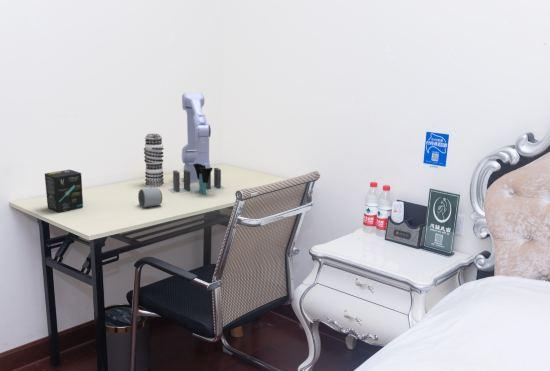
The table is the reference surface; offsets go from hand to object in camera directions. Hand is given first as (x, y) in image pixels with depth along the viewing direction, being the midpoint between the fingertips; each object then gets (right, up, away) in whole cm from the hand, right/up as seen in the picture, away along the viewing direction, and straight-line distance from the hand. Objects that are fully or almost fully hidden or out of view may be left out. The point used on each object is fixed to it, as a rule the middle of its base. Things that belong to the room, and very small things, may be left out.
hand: (202, 180), depth 238 cm
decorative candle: (-25, -3, +12) cm, 28 cm away
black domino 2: (-8, -4, +6) cm, 11 cm away
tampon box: (-52, -11, -27) cm, 59 cm away
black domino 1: (-13, -4, +4) cm, 14 cm away
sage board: (-4, -4, +8) cm, 10 cm away
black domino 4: (+5, -3, +13) cm, 14 cm away
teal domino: (0, -6, +2) cm, 6 cm away
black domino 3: (+1, -3, +11) cm, 11 cm away
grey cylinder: (-20, -11, -19) cm, 30 cm away
